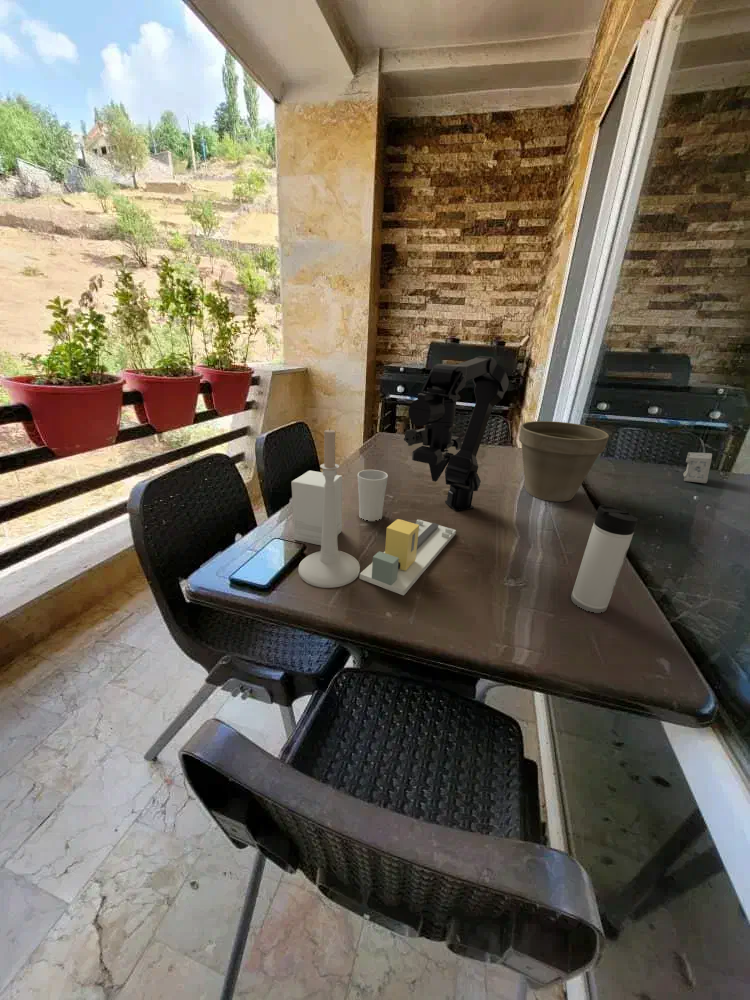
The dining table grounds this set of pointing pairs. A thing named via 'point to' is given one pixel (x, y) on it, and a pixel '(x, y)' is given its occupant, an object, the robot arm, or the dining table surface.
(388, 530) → the yellow sliding block
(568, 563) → the dining table surface
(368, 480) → the cup
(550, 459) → the plant pot
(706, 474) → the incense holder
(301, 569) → the candlestick
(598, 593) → the travel mug
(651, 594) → the dining table surface
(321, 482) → the supplement box
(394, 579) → the white slide rail base
